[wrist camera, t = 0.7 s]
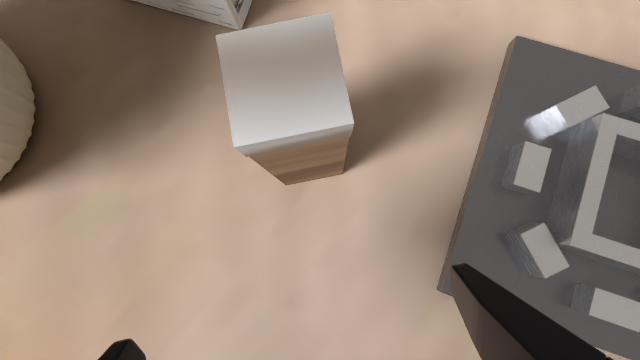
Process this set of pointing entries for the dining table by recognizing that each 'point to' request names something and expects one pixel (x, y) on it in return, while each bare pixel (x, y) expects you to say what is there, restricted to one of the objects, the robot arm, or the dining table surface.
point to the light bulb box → (207, 10)
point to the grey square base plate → (559, 193)
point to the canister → (14, 109)
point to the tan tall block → (288, 97)
